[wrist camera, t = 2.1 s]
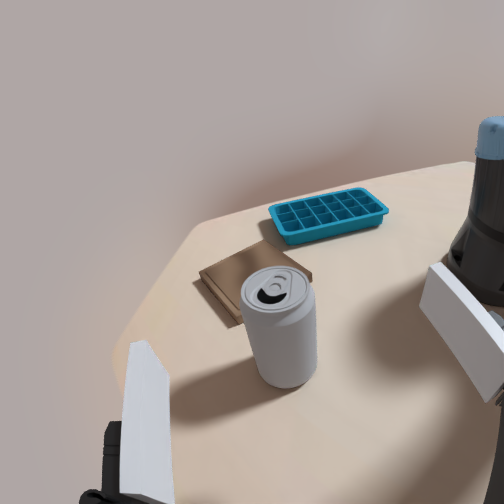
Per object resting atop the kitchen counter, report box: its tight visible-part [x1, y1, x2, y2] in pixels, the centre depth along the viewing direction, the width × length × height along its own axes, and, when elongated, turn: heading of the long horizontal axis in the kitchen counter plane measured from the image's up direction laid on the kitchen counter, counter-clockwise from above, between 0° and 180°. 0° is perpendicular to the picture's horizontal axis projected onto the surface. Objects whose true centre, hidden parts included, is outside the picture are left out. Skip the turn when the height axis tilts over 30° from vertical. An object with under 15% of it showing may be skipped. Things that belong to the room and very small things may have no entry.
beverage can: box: [239, 266, 317, 388], centre depth 28 cm, size 6×6×12 cm
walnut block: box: [199, 240, 312, 325], centre depth 43 cm, size 12×12×2 cm
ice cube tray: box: [268, 188, 389, 245], centre depth 53 cm, size 12×20×3 cm, turn 99°
